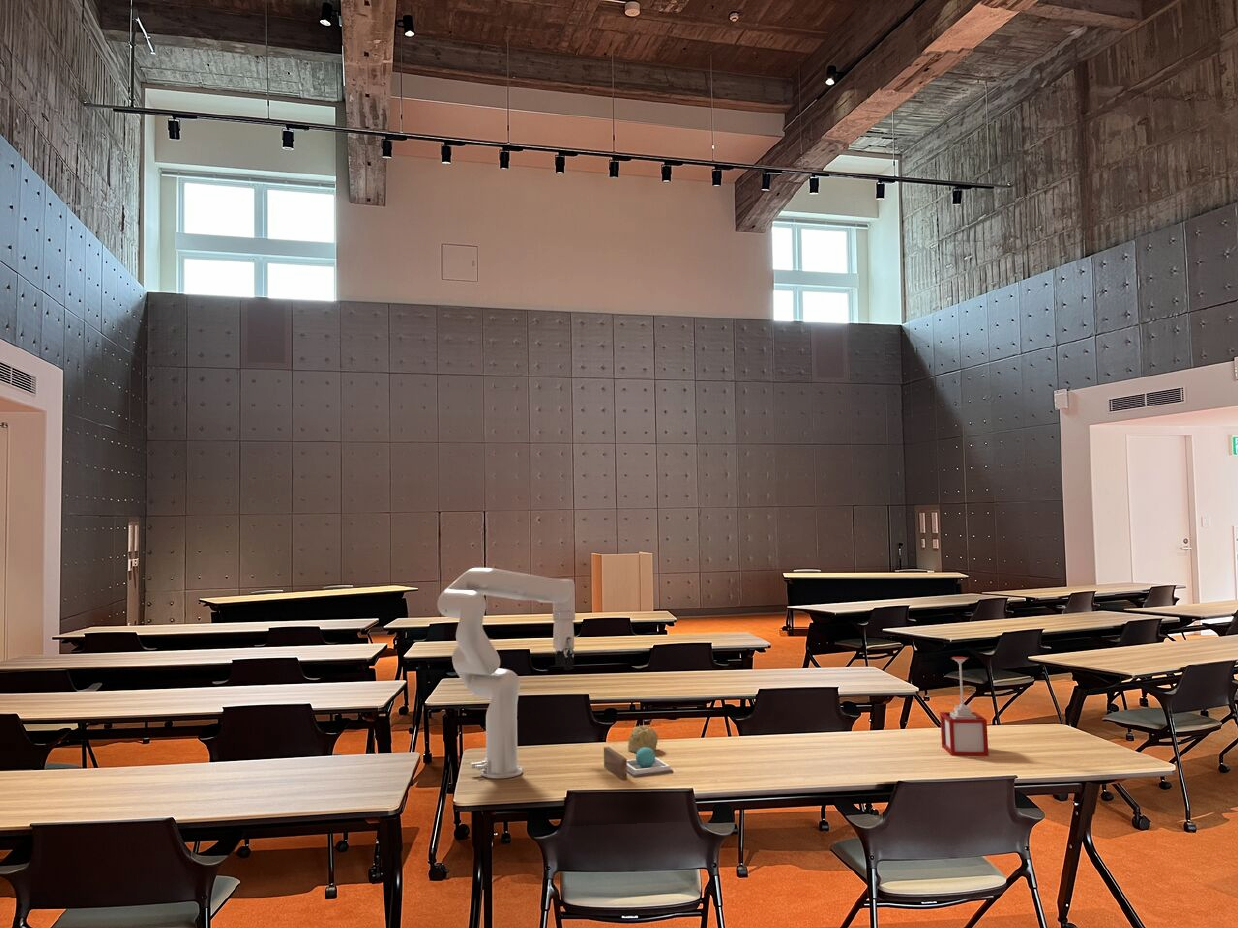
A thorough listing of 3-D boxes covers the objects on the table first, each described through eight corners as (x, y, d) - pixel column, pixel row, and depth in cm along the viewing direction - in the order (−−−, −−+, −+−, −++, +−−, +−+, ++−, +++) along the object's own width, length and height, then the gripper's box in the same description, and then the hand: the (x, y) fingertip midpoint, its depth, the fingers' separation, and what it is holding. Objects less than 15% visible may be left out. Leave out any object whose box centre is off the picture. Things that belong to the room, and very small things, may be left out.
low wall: (621, 780, 250) (621, 759, 251) (604, 766, 265) (603, 747, 266) (626, 779, 251) (626, 758, 251) (608, 766, 266) (608, 746, 266)
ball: (640, 770, 258) (640, 750, 258) (632, 765, 263) (633, 745, 264) (658, 769, 260) (658, 749, 260) (650, 763, 265) (650, 744, 266)
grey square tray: (633, 777, 253) (633, 770, 253) (618, 766, 265) (618, 760, 265) (673, 772, 258) (673, 766, 258) (656, 761, 270) (656, 756, 270)
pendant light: (977, 747, 281) (972, 655, 283) (988, 755, 269) (983, 660, 272) (942, 746, 282) (937, 655, 284) (951, 755, 271) (946, 660, 273)
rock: (649, 756, 290) (637, 729, 294) (668, 745, 283) (655, 716, 287) (628, 764, 283) (616, 736, 287) (647, 752, 276) (635, 723, 280)
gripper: (546, 614, 293) (547, 664, 292) (560, 618, 277) (561, 671, 276) (567, 613, 296) (567, 663, 294) (582, 617, 280) (583, 670, 278)
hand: (564, 667), depth 285 cm, fingers open, 9 cm apart
